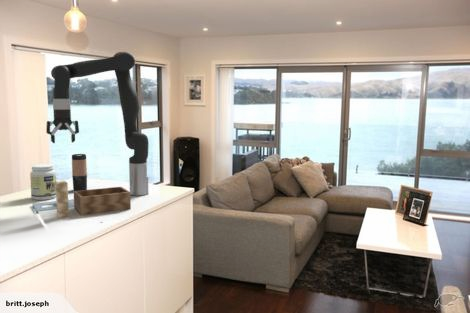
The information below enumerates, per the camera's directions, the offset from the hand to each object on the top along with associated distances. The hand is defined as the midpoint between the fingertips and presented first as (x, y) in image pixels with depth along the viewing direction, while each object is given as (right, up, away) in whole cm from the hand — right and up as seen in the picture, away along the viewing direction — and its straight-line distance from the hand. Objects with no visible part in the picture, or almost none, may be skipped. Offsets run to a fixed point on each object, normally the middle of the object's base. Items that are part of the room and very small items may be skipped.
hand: (63, 142), depth 203 cm
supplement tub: (-16, -28, +16) cm, 36 cm away
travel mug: (-5, -26, +35) cm, 44 cm away
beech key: (+8, -33, -21) cm, 40 cm away
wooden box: (+21, -32, -7) cm, 39 cm away
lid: (-1, -31, -1) cm, 31 cm away
